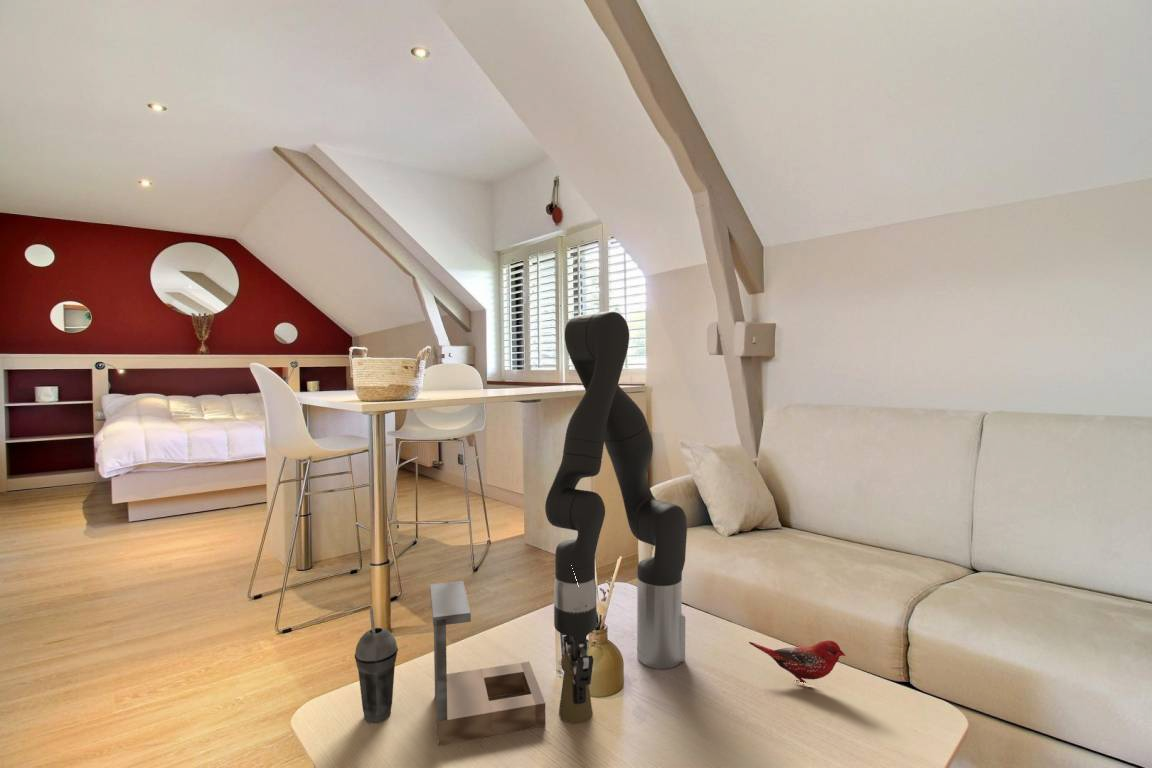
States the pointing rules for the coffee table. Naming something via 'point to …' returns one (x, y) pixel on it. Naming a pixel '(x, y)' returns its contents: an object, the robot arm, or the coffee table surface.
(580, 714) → the cork
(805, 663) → the decorative bird figurine
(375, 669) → the beverage cup
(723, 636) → the coffee table surface
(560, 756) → the coffee table surface
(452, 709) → the socket stand
